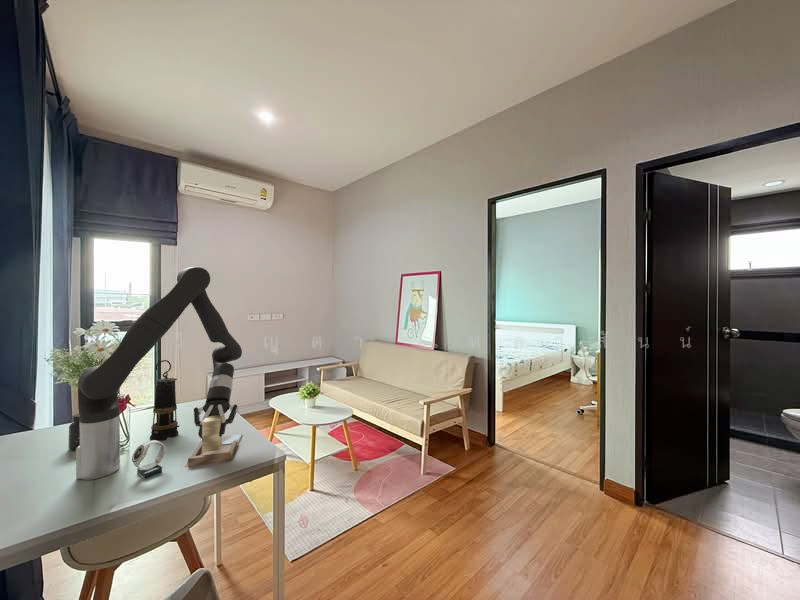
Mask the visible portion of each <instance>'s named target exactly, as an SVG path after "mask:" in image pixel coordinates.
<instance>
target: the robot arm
mask: <svg viewBox="0 0 800 600" xmlns="http://www.w3.org/2000/svg"><path fill="white" fill-rule="evenodd" d="M176 282H177V283H175V284H174V286H173V287H172V288H171V290H170V291H168V293H167V294H166V295H164V296H163V297H161V298H160V299H159V300H158V301H156V302H155V303H154V304H152V305H151V306H150V307H149V308H147V309H146V310H145V311H144V312H143V313H142V314H141V315H140V316H139V317H138V318H137V319H136V320H135V321H134V322H133V323H132V324H131V326H130V327H129V328H128V329H127V331H126V332H125V334H124V336H123V338H122V339H121V341H120V343H119V344H118V346H117V347H116V349H115V350H114V351H113V353H112V354H111V355H109V357H108V358H106V360H105V361H103V363H101V364H100V365H95V366H92V367H89V368H87V369H86V370H85V371H83V372H82V373H81V375H80V376H79V378H78V380H77V400H78V401H77V405H78V406H77V409H78V414H79V418H80V446H78V447H77V448H76V451H75V479H76V480H79V479H80V480H85V481H88V480H89V481H90V480H91V481H92V480H96V479H100V478H104V477H107V476H109V475H112V474H114V473H115V472H117V470H119V469H120V467H121V451H120V450H121V446H120V445H121V444H120V443H121V441H120V440H121V437H120V436H121V434H120V424H121V423H120V421H121V420H120V419H121V417H120V411H121V410H120V408H121V407H120V403H119V397H118V390H119V389H120V388H121V387H122V385H123V384H124V383H125V381H126V380H127V378H128V377H129V375H130V374H131V372H133V370H134V369H135V367H136V366H137V365H138V363H140V361H141V360H142V359H143V358H144V357H145V356H146V355H147V354H149V352H150V351H151V350H152V348H154V346H156V344H157V343H159V341H160V340H162V338H163V337H164V335H165V334H166V333H167V332H168V331H169V330H170V329H171V328H172V326H173V325H174V323H176V322H177V320H178V319H179V318H180V316H181V315H182V314H183V313H184V311H185V310H186V309H187V308H188V307H189V305H192V307H193V309H194V310H195V312H196V314H197V316H198V318H199V320H200V322H201V325H202V326H203V328H204V331H205V333H206V335H207V337H208V339H209V341H210V342H211V343H213V344H214V343H216V344H217V343H221V344H223V345H220V346H216V347H215V348H214V349H213V350H212V353H211V357H212V359H211V360H212V366H213V369H212V370H213V371H212V375H211V380H210V383H209V387H208V391H207V395H206V400H205V403H204V405H203V406H201V407H194V408H193V419H194V425H195V426H196V427H199V428H198V433H197V434H198V437H199V438H200V439H202V422H203V420H204V419H205V418H207V417H209V416H218V415H220V417H221V416H222V420H221V421H222V424H221V426H220V431H219V436H220V437H221V436H222V437H223V436H224V435H225V433H226V427H227V425H229V424H233V422H234V419H235V418H236V415H237V413H238V410H239V407H238V405H237V404H230V401H231V396H232V395H231V394H232V390H233V378H234V374H235V367H234V365H233V364H231V363H230V362H233V361H237V360H239V359H240V358H241V357H242V354H243V349H242V347H241V345H240V344H239V343H238V341H237V340H236V339H235V338H234V336H232V334H231V333H230V332H229V330H228V328H227V325H226V323H225V322H224V319H223V317H222V316H221V314H220V313H219V311H218V309H216V307H215V305H213V303H212V301H211V300H210V298H209V295H208V293H207V290H206V289H207V288H208V287H209V285H210V283H211V275H210V273H209V271H208V270H207V269H205V268H204V267H200V266H191V267H187V268H183V269H182V270H180V271H179V272H178V274H177V276H176ZM229 410H230V414H229V415H228V417H227V418H226V416H225V414H226V413H228V411H229ZM202 412H204V413H205V414H204V415H203V417H202V418H201V419H202V420H201V419H200V417H201V414H202Z"/></svg>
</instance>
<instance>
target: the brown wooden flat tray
mask: <svg viewBox="0 0 800 600" xmlns="http://www.w3.org/2000/svg"><path fill="white" fill-rule="evenodd" d="M243 437H244V435H243V434H233V435H226V436H225V435H222V445H221V447H220V449H219V450H217V451H208V452H202V440H201V441H200V443H199V444H198V445H197V447H196V448H195V449H194V451H193V453H192V454H191V456H189V457H188V458H187V462H186V464H185V465H184V468H187V467H197V466H201V465H203V466H205V465H212V464H217V463H226V462H233V461H234V459H235V457H236V454H237V452H238V450H239V447H240V444H241V442H242V439H243Z"/></svg>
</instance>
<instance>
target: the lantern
mask: <svg viewBox="0 0 800 600" xmlns="http://www.w3.org/2000/svg"><path fill="white" fill-rule="evenodd" d="M163 362H166V363H167V364H168V365H169V369H168V370H167V371H164V372H162V373H163V374H162V377H163V378H159V379H156V380H154V382H155V383H156V387H155V397H154V407H153V409H152V410H153V411H152V412H153V418H152V419H153V420H152V425H151V428H150V429H151V433H150V434H151V435H150V436H149V441H151V440H156V441H159V442H164V441H166V440H168V439H171V438H176V437H177V436H178V435H179V431H178V428H179V427H180V425H179V423H178V421H177V419H178V418H177V409H178V406H177V400H176V399H177V397H176V396H177V395H176V381H177V380H178V379H177V378H175V377H168V376H169V374H168V373H169V372H170V371H171V369H172V364H171V362H170V361H169V360H167V359H165V360H164V359H163V360H160V361H158V362H157V363H156V365H155V371H158V366H159V364H161V363H163ZM174 417H175V418H174ZM155 418H156V419H155ZM155 420H156V422H155Z"/></svg>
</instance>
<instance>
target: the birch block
mask: <svg viewBox="0 0 800 600" xmlns="http://www.w3.org/2000/svg"><path fill="white" fill-rule="evenodd" d="M221 420H222V416H221V417H220V415H218V416H209V417H207V418H205V419H204V420H203V422H202V438H201V441H202V452H208V451H217V450H219V449H220V447H221V445H222V437H223V435H222V436H221V437H220V436H219V431H220V426H221V424H222V421H221Z"/></svg>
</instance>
